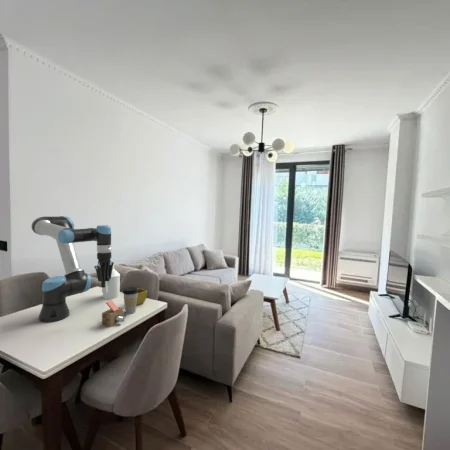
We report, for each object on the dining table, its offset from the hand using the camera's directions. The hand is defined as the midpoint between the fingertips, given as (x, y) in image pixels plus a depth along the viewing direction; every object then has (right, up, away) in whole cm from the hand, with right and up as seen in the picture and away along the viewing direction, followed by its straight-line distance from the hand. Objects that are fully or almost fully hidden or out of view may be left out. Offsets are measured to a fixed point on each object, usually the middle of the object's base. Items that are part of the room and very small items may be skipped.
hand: (104, 292), depth 149 cm
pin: (+6, -17, 0) cm, 18 cm away
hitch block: (+5, -17, 0) cm, 18 cm away
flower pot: (+9, -16, +30) cm, 35 cm away
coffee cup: (+9, -17, +15) cm, 25 cm away
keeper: (+4, -8, -1) cm, 9 cm away
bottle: (-15, -14, +42) cm, 47 cm away
